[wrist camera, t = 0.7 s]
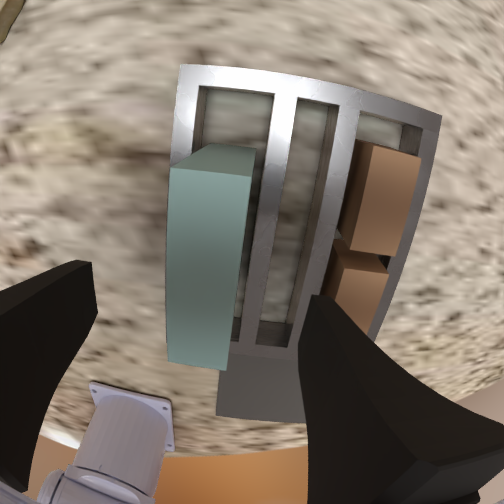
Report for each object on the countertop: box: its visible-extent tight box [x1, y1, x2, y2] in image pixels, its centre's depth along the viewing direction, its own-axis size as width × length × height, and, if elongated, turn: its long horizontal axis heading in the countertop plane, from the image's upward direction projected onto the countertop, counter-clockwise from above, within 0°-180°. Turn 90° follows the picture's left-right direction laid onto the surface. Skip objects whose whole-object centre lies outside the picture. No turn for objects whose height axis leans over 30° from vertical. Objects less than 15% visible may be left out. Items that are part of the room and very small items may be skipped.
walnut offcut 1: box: [337, 139, 422, 257], centre depth 16 cm, size 5×2×4 cm, turn 172°
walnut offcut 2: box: [319, 239, 389, 335], centre depth 18 cm, size 5×2×4 cm, turn 172°
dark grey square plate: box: [216, 353, 306, 423], centre depth 24 cm, size 10×10×1 cm
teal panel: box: [166, 143, 256, 371], centre depth 15 cm, size 8×2×8 cm, turn 172°
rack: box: [165, 64, 442, 360], centre depth 17 cm, size 16×13×2 cm
